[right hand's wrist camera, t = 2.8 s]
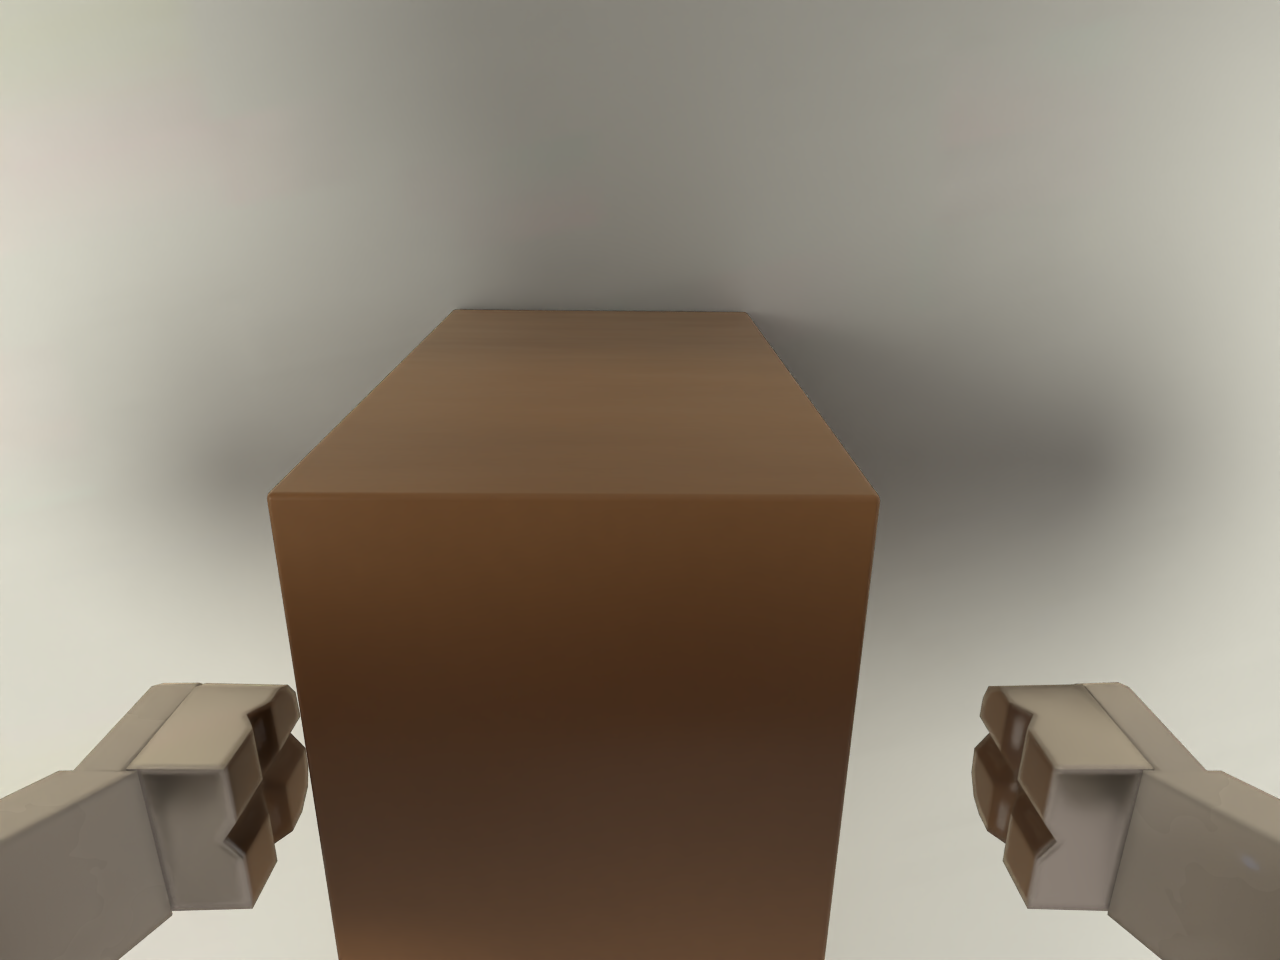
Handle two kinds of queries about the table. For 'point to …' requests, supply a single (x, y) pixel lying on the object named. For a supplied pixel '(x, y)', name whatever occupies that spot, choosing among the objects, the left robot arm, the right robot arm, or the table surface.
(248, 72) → the table surface
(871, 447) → the table surface
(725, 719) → the bar
